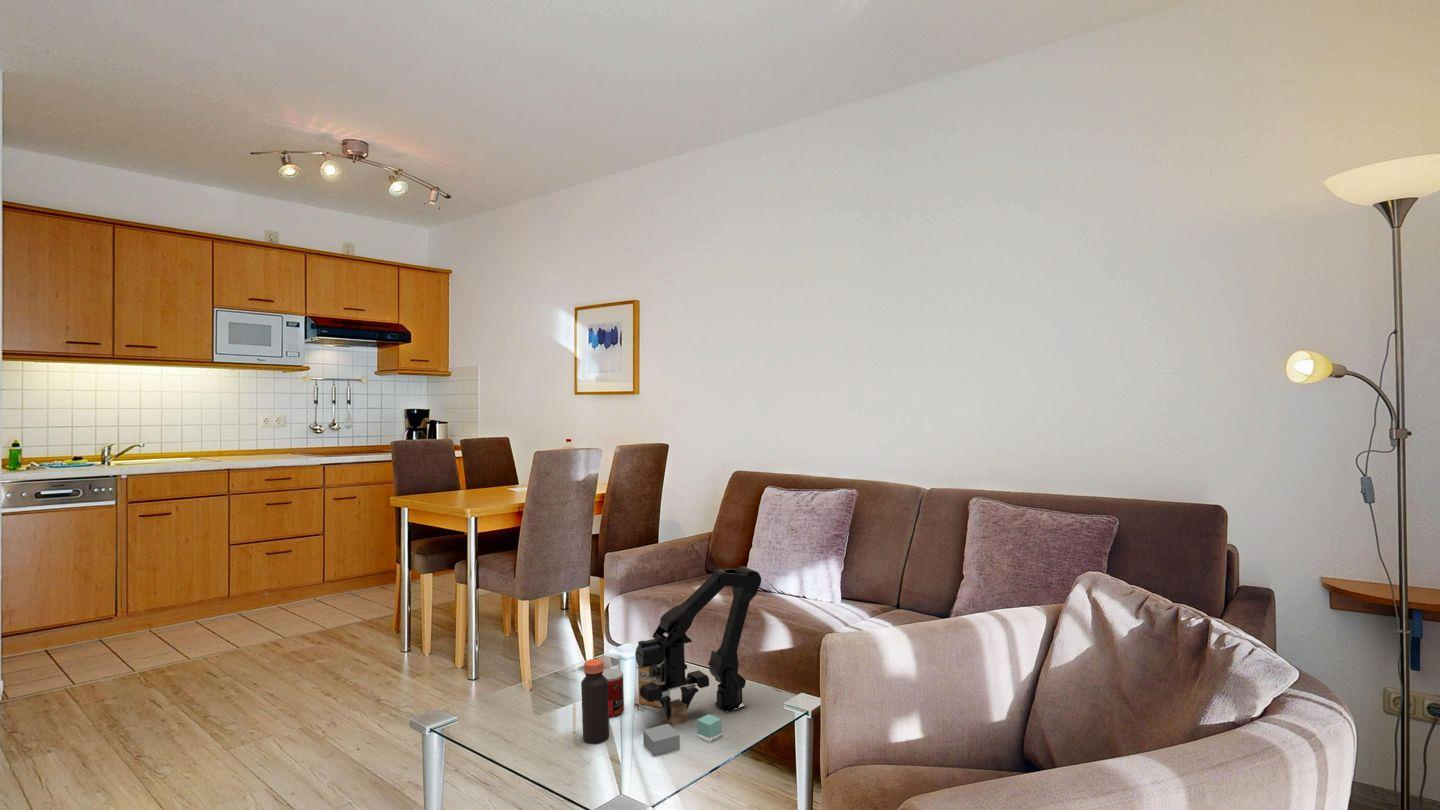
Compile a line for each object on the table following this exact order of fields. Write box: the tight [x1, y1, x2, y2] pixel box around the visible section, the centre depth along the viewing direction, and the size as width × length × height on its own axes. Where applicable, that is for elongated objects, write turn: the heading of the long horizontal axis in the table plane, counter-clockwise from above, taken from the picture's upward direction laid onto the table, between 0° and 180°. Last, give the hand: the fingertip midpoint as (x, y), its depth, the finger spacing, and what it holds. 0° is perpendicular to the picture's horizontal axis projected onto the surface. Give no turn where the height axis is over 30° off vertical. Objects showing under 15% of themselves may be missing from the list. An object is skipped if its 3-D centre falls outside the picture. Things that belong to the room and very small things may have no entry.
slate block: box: [642, 723, 681, 758], centre depth 189 cm, size 7×7×4 cm
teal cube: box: [696, 714, 723, 738], centre depth 194 cm, size 4×4×4 cm
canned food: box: [602, 667, 625, 719], centre depth 209 cm, size 8×8×11 cm
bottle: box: [580, 658, 610, 744], centre depth 194 cm, size 7×7×20 cm
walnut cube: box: [664, 698, 688, 726], centre depth 203 cm, size 4×4×4 cm
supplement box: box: [637, 663, 671, 708], centre depth 214 cm, size 8×5×13 cm, turn 67°
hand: (675, 716), depth 203 cm, fingers closed on walnut cube, 4 cm apart
